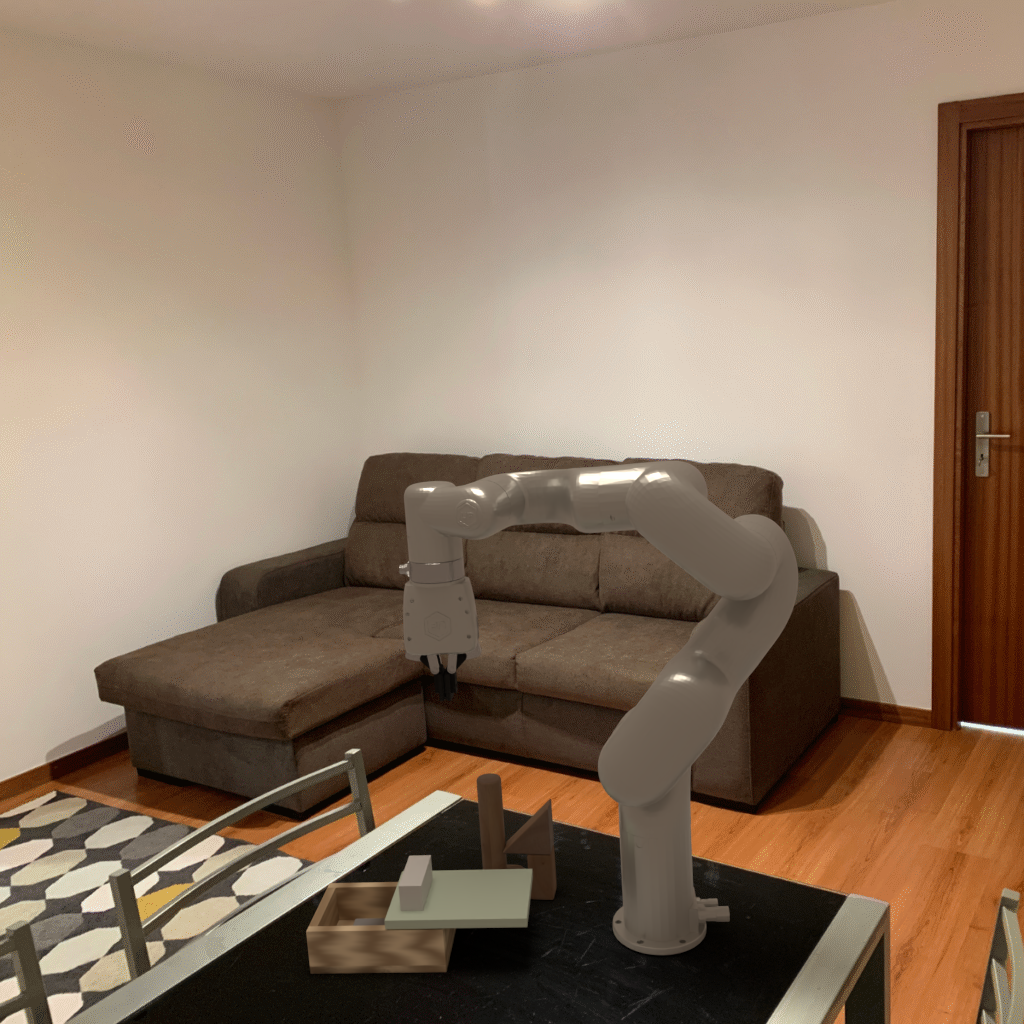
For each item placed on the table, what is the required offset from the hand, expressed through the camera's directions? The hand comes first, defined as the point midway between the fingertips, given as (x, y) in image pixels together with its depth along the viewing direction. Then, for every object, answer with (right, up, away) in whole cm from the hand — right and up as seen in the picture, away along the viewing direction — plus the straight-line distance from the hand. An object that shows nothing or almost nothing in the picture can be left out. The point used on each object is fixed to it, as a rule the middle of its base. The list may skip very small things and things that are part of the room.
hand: (447, 697), depth 143 cm
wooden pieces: (+10, -30, +6) cm, 32 cm away
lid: (+2, -26, -7) cm, 27 cm away
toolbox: (-8, -33, -5) cm, 34 cm away
